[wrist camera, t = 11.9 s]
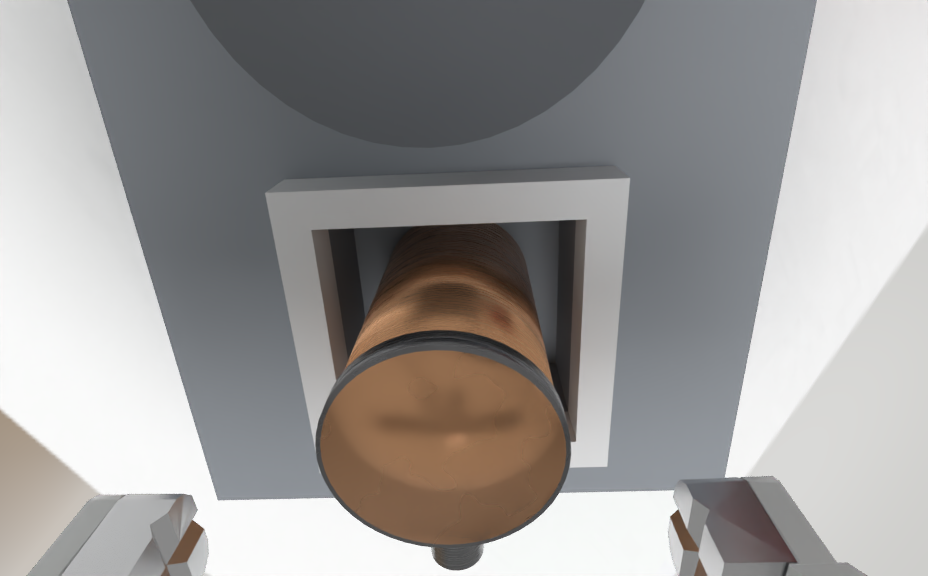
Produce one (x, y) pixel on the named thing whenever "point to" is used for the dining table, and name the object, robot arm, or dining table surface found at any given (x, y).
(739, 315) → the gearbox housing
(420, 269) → the spout can
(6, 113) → the dining table surface
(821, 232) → the dining table surface
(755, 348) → the dining table surface
